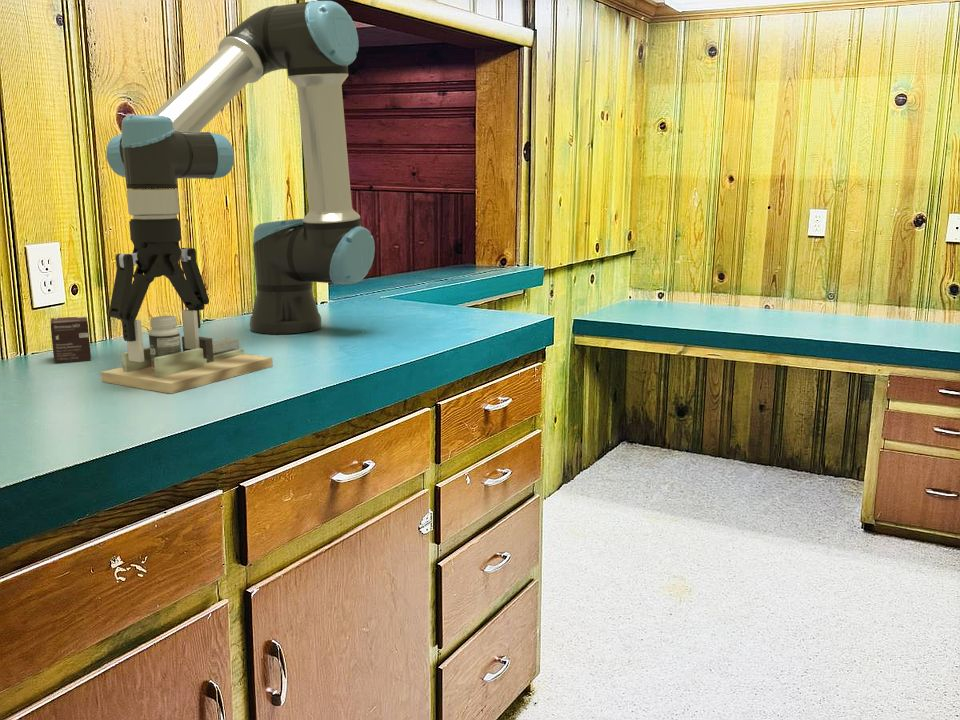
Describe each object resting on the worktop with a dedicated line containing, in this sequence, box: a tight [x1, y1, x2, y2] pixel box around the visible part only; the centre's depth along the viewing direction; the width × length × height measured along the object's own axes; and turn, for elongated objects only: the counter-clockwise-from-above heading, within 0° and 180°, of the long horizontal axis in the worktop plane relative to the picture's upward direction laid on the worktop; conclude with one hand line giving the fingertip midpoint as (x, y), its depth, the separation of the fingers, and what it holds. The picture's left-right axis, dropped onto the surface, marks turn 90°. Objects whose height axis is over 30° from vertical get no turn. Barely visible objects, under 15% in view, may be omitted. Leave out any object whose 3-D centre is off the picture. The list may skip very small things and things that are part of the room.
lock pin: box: [200, 337, 240, 355], centre depth 149 cm, size 7×2×2 cm, turn 150°
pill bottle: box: [148, 315, 182, 370], centre depth 139 cm, size 5×5×8 cm
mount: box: [100, 335, 274, 395], centre depth 142 cm, size 22×16×6 cm
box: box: [50, 316, 92, 364], centre depth 154 cm, size 6×6×7 cm
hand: (165, 354), depth 139 cm, fingers open, 10 cm apart
